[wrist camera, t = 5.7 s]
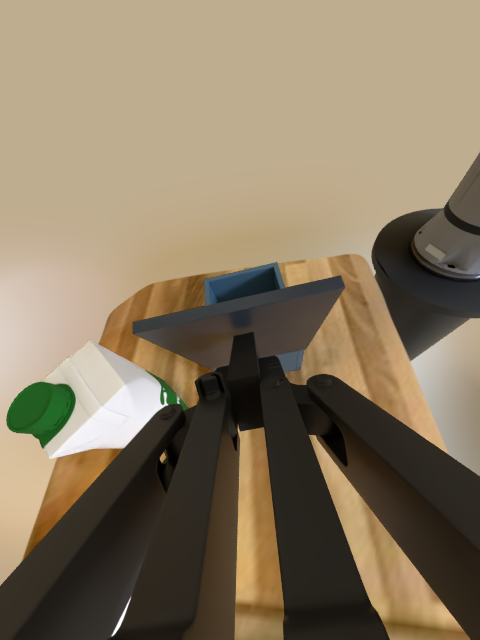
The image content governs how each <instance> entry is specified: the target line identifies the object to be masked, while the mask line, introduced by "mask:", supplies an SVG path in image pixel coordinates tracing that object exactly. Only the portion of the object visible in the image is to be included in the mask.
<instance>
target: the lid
mask: <svg viewBox="0 0 480 640" xmlns="http://www.w3.org/2000/svg"><path fill="white" fill-rule="evenodd" d="M344 288H345V285H344V283H343V280H342V277H341V276H336V277H332V278H327V279H323V280H318V281H314V282H309V283H305V284H300V285H296V286H291V287H287V288H282V289H278V290H274V291H269V292H265V293H260V294H256V295H251V296H247V297H242V298H238V299H233V300H229V301H224V302H220V303H216V304H211V305H207V306H202V307H198V308H193V309H189V310H184V311H180V312H175V313H171V314H166V315H162V316H157V317H153V318H149V319H144V320H140V321H135V322H133V334H134V335H136V336H139V337H141V338H143V339H145V340H147V341H150V342H152V343H154V344H156V345H158V346H161V347H163V348H165V349H167V350H169V351H172V352H174V353H176V354H178V355H180V356H183V357H185V358H187V359H189V360H191V361H193V362H196V363H198V364H200V365H202V366H204V367H207V368H209V369H210V368H215V367H220V366H225V365H229V362H230V356H231V350H232V344H233V338H234V336H236V335H241V334H245V333H250V332H254V335H255V340H256V344H257V348H258V353H259V357H260V358H263V357H268V356H273V355H280V354H285V353H290V352H295V351H300V350H305V349H306V348H307V347H308V345H309V344H310V342H311V340H312V339H313V337H314V336H315V334H316V333H317V331H318V329H319V328H320V326H321V325H322V323H323V321H324V320H325V318H326V317H327V315H328V314H329V312H330V310H331V309H332V307H333V306H334V304H335V303H336V301H337V299H338V298H339V296H340V295H341V293H342V292H343V290H344Z"/></svg>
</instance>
